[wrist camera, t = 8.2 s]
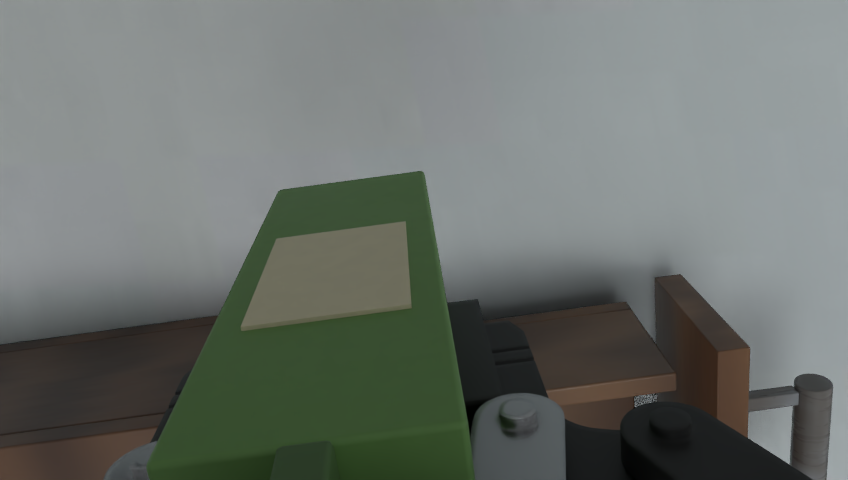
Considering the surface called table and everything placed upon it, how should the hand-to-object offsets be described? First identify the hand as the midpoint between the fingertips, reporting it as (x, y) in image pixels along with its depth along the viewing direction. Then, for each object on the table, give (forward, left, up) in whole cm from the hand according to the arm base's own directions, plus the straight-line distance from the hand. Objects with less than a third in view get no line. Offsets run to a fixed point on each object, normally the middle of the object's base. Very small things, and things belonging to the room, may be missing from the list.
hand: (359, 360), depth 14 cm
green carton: (0, 0, -4) cm, 4 cm away
